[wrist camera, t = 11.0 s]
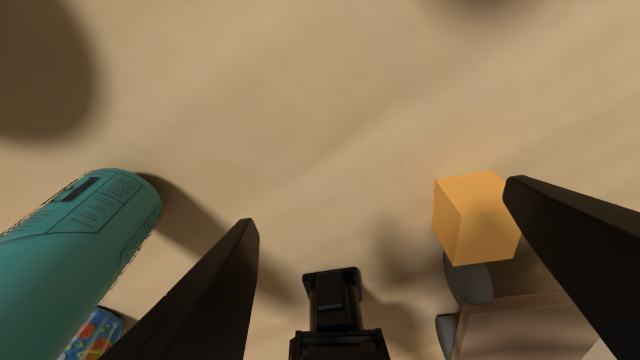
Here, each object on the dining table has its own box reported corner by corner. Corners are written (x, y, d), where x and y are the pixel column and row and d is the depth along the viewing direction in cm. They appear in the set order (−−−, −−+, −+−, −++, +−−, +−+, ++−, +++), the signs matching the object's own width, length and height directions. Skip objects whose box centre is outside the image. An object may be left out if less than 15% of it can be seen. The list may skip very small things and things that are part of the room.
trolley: (527, 322, 38) (605, 435, 28) (430, 333, 39) (471, 446, 29) (580, 215, 26) (747, 343, 16) (440, 236, 27) (515, 367, 17)
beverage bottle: (123, 141, 20) (-731, 734, 4) (190, 196, 23) (-109, 651, 7) (78, 180, 22) (-625, 690, 6) (145, 226, 25) (-176, 641, 9)
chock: (480, 219, 26) (512, 258, 22) (431, 226, 27) (453, 266, 22) (491, 169, 23) (531, 205, 19) (434, 179, 23) (461, 215, 19)
